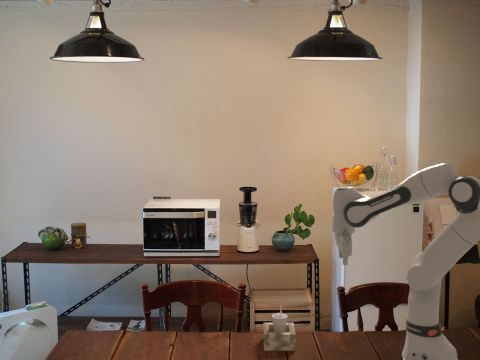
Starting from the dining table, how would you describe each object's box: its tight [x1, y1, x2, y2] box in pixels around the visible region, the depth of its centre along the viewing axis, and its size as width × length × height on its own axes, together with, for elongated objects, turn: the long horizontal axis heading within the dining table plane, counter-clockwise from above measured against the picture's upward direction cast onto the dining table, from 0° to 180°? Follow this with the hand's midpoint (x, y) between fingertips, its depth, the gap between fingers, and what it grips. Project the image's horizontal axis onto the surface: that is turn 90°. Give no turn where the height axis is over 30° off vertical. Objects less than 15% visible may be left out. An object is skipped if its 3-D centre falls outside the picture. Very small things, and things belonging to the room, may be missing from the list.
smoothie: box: [271, 304, 289, 332], centre depth 246 cm, size 6×6×14 cm
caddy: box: [262, 322, 296, 352], centre depth 246 cm, size 12×12×6 cm
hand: (343, 261), depth 249 cm, fingers open, 8 cm apart
